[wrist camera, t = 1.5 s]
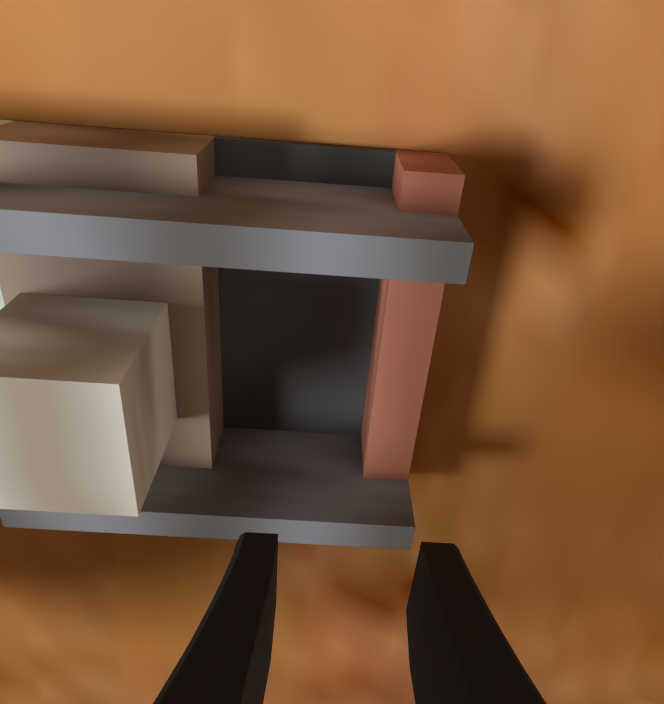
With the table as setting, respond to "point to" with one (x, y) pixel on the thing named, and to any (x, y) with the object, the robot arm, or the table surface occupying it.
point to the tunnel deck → (252, 313)
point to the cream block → (83, 402)
